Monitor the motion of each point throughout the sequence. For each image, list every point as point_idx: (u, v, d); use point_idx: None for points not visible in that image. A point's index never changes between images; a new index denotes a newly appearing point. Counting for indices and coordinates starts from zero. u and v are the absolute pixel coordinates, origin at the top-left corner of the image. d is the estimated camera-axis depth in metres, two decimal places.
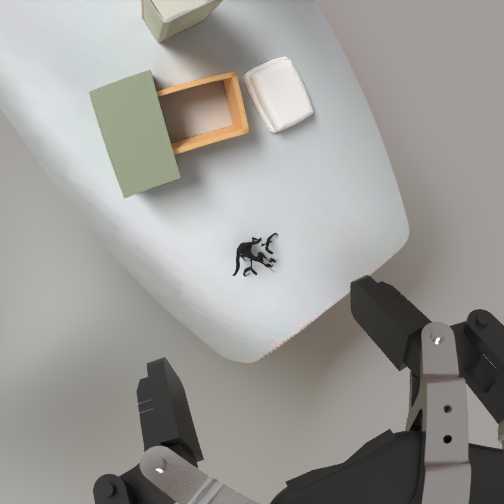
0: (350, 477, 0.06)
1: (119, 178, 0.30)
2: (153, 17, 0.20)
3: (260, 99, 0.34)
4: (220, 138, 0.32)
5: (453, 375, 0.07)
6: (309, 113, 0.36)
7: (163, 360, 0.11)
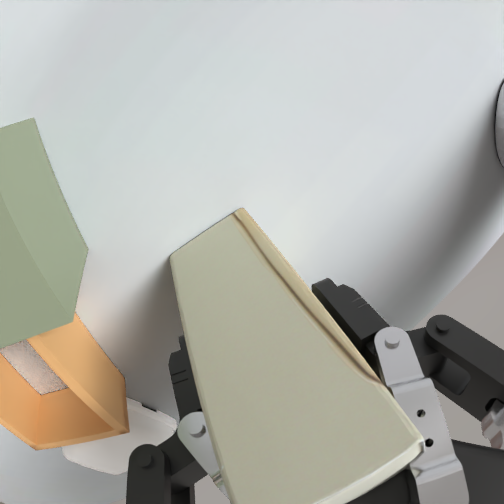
0: None
1: None
2: (253, 387, 0.07)
3: None
4: (2, 422, 0.11)
5: (418, 377, 0.08)
6: (112, 474, 0.19)
7: None
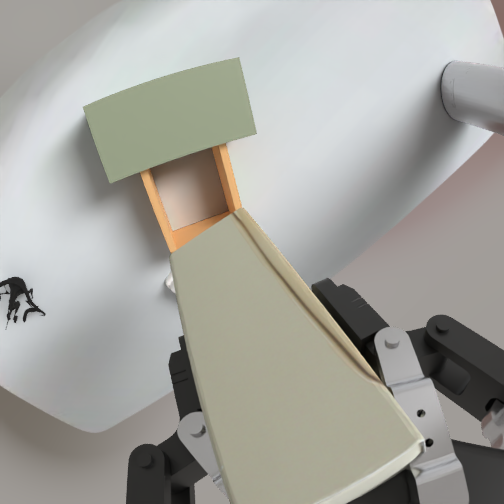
0: None
1: (112, 98, 0.19)
2: (252, 386, 0.07)
3: None
4: (162, 225, 0.26)
5: (418, 377, 0.08)
6: None
7: None
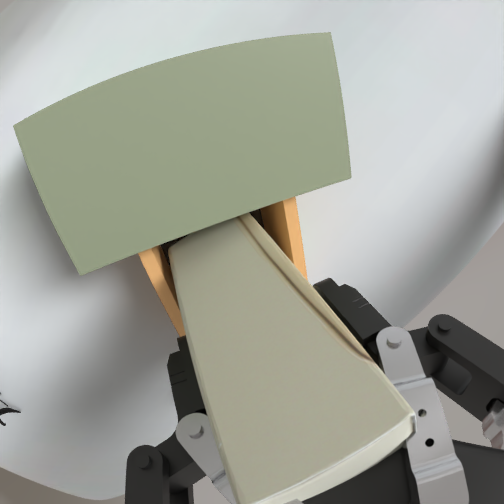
0: None
1: (70, 103, 0.08)
2: (250, 367, 0.08)
3: None
4: (181, 329, 0.15)
5: (419, 377, 0.08)
6: None
7: None
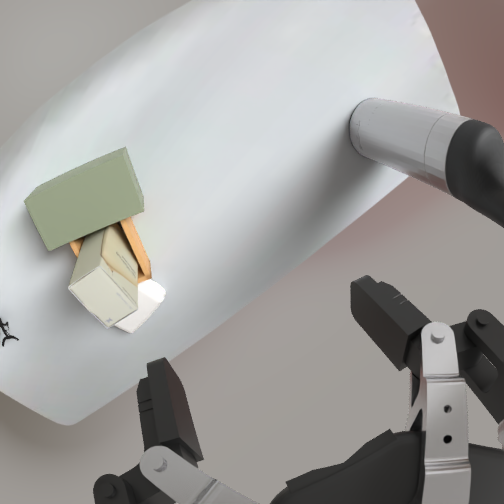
0: (350, 477, 0.06)
1: (41, 194, 0.27)
2: (84, 260, 0.28)
3: None
4: None
5: (453, 375, 0.07)
6: None
7: (163, 360, 0.11)
